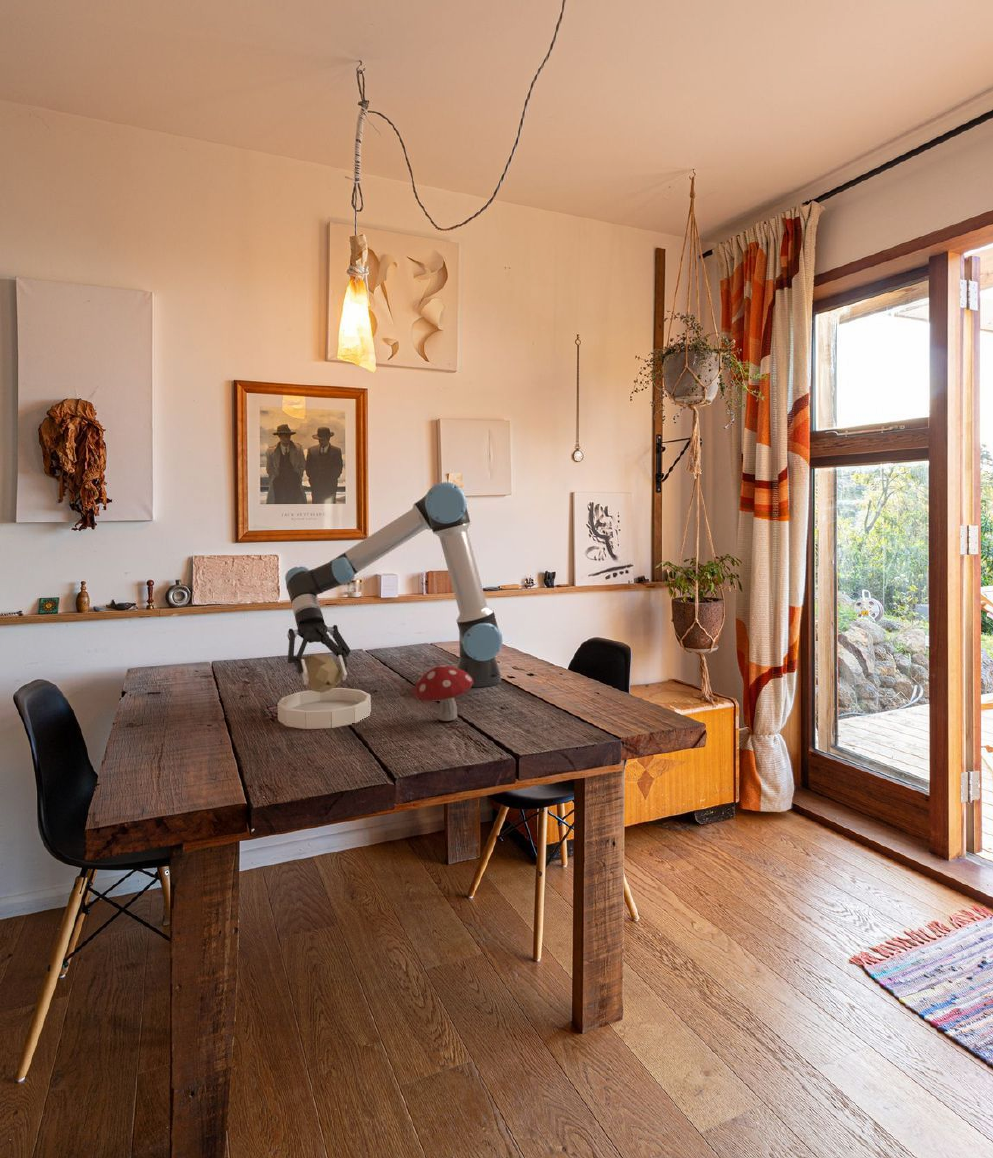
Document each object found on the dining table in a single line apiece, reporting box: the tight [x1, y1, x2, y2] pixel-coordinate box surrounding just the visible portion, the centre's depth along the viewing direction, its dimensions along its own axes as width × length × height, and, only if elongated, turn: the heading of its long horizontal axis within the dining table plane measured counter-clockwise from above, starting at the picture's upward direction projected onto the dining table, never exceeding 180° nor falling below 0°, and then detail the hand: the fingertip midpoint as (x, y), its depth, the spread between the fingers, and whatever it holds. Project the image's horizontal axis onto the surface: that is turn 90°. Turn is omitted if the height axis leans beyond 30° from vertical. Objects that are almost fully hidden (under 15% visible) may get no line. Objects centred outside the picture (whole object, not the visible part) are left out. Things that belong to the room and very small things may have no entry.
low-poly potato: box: [299, 653, 341, 693], centre depth 187 cm, size 15×11×12 cm
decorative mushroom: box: [413, 665, 474, 722], centre depth 181 cm, size 16×16×15 cm
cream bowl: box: [276, 687, 372, 730], centre depth 188 cm, size 24×24×4 cm
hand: (326, 679), depth 185 cm, fingers closed on low-poly potato, 10 cm apart
